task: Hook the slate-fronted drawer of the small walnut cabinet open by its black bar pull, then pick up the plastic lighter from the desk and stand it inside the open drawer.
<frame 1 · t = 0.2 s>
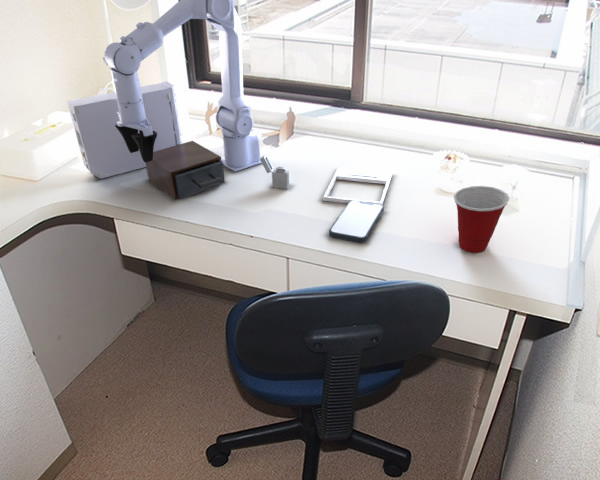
hand: (141, 156, 136), 10 cm above the table, tool pointing down, fingers open, 7 cm apart
smartphone: (356, 224, 128), on the table
lighter: (275, 186, 144), on the table
plastic cup: (471, 246, 119), on the table
drawer: (193, 174, 142), point 4 cm above the table, slide at 0.5 cm
photo frame: (358, 188, 142), on the table
cabinet: (186, 182, 147), on the table
game console: (138, 166, 156), on the table
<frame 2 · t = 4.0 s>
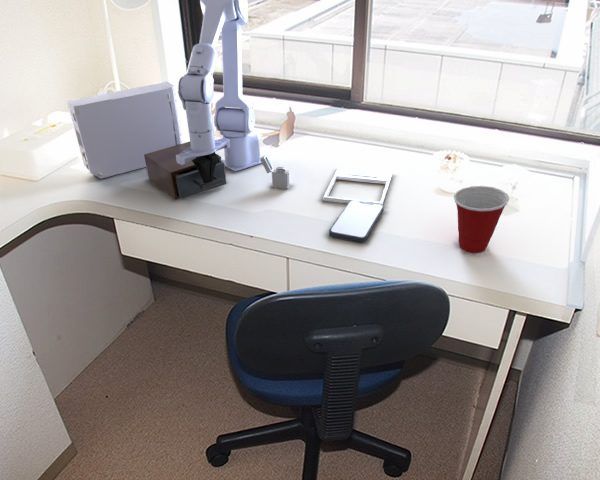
hand: (207, 182, 137), 4 cm above the table, tool pointing down, fingers closed
drawer: (194, 175, 141), point 4 cm above the table, slide at 1.1 cm, touching gripper
everything else where it was.
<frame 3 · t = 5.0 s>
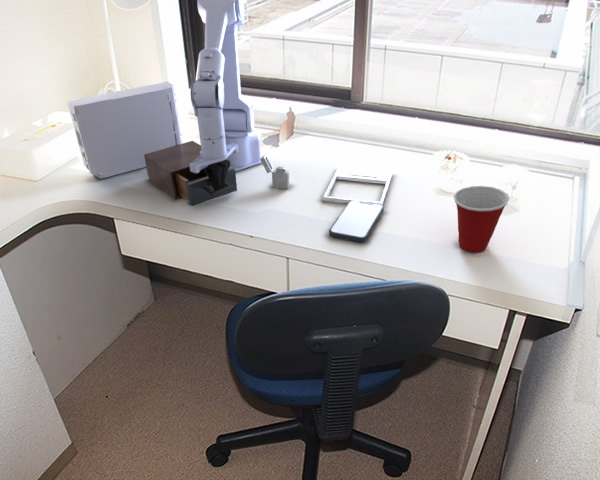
hand: (218, 190, 134), 4 cm above the table, tool pointing down, fingers closed
drawer: (204, 182, 138), point 4 cm above the table, slide at 6.2 cm, touching gripper
everything else where it was.
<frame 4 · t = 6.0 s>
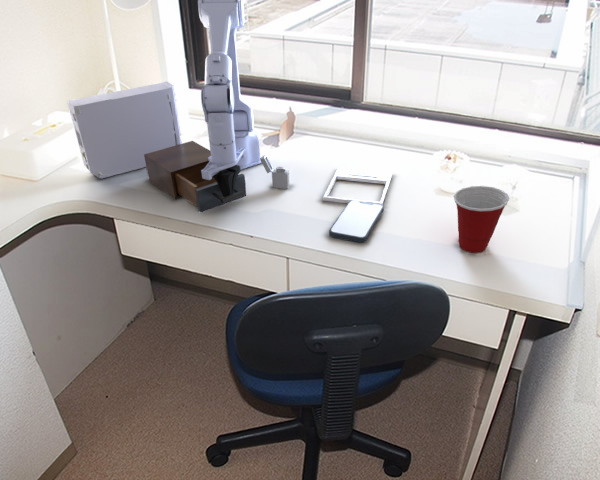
hand: (228, 196, 131), 4 cm above the table, tool pointing down, fingers closed
drawer: (213, 187, 136), point 4 cm above the table, slide at 10.3 cm, touching gripper
everything else where it was.
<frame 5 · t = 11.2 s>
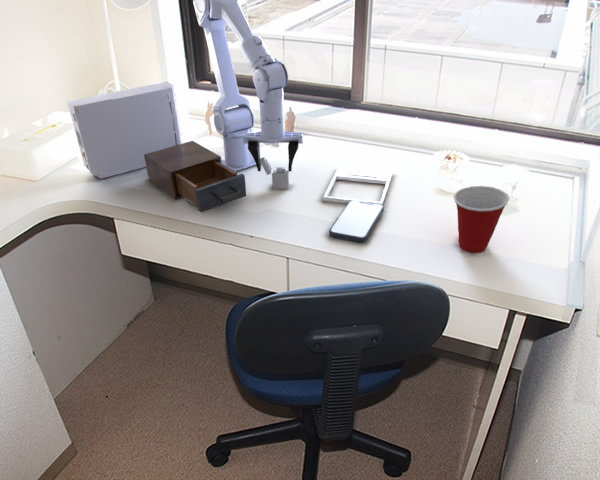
hand: (274, 169, 141), 5 cm above the table, tool pointing down, fingers open, 7 cm apart
lighter: (275, 187, 144), on the table, touching gripper
drawer: (213, 187, 136), point 4 cm above the table, slide at 10.3 cm
everything else where it was.
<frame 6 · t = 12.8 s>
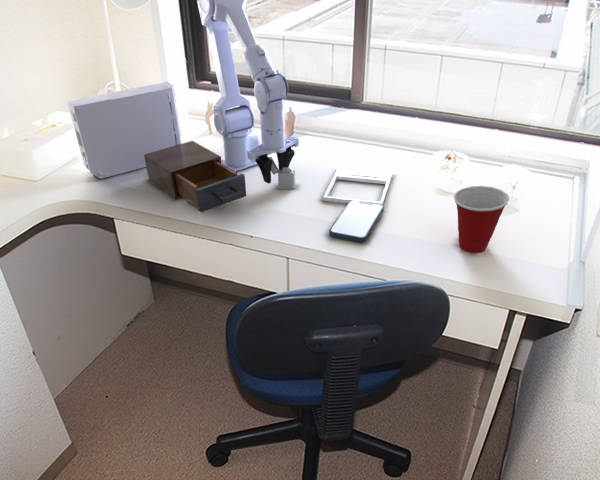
hand: (275, 179, 143), 2 cm above the table, tool pointing down, fingers closed on lighter, 4 cm apart
lighter: (281, 187, 144), on the table, touching gripper
everything else where it was.
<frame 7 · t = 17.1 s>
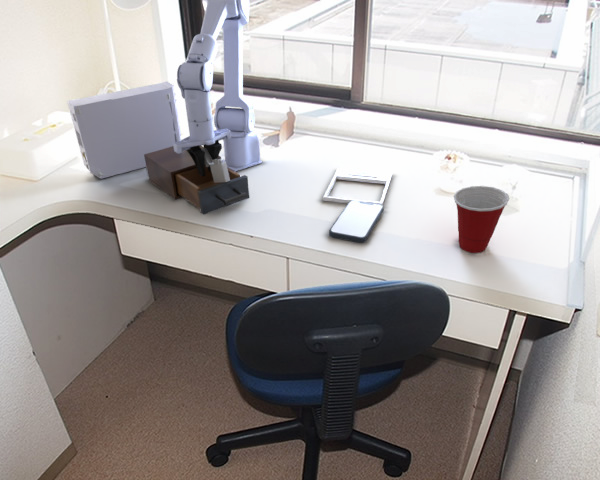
hand: (206, 173, 135), 7 cm above the table, tool pointing down, fingers closed on lighter, 2 cm apart
lighter: (218, 182, 134), point 6 cm above the table, touching drawer, gripper
drawer: (216, 189, 135), point 4 cm above the table, slide at 11.6 cm, touching lighter
everything else where it was.
when the fingers open (4 cm above the table, at t = 18.1 s): lighter drops 1 cm, resting on drawer.
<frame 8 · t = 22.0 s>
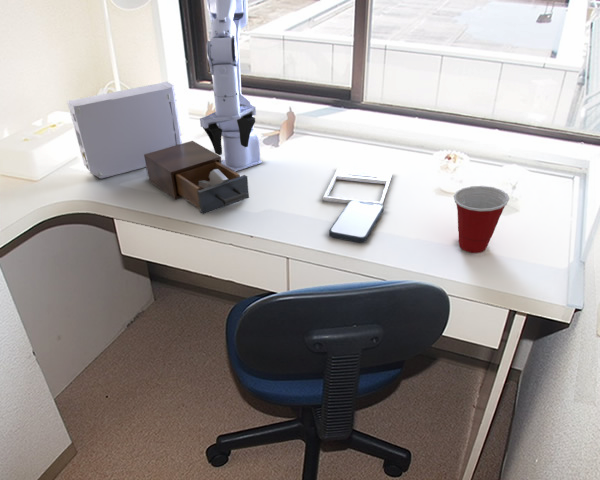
hand: (231, 149, 137), 10 cm above the table, tool pointing down, fingers open, 7 cm apart
lighter: (222, 192, 134), point 4 cm above the table, touching drawer
everything else where it was.
at the end: drawer slide at 11.4 cm; lighter inside the target area in the drawer (6.4 cm from its centre), point 3.6 cm above the cabinet's base; the gripper is holding nothing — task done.
